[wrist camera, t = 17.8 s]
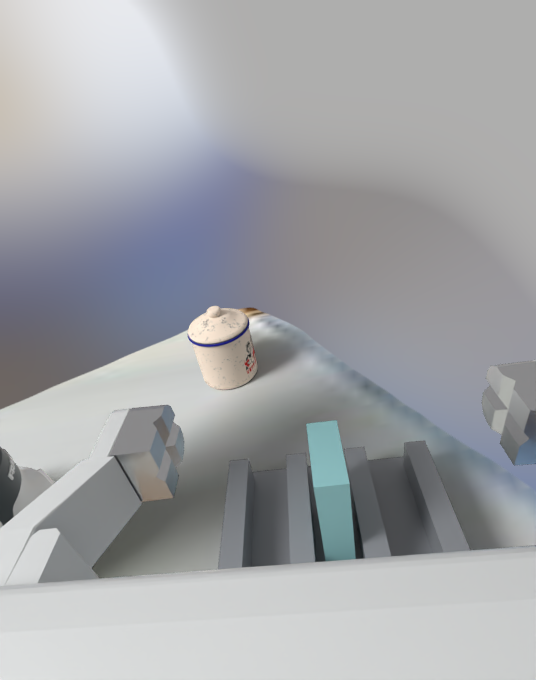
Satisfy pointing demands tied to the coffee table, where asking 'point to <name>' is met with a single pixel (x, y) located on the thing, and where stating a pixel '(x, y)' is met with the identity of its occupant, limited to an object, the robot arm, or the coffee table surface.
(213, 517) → the coffee table surface
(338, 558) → the aqua rubber eraser
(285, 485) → the slotted rack
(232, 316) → the teacup with lid
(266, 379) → the coffee table surface
